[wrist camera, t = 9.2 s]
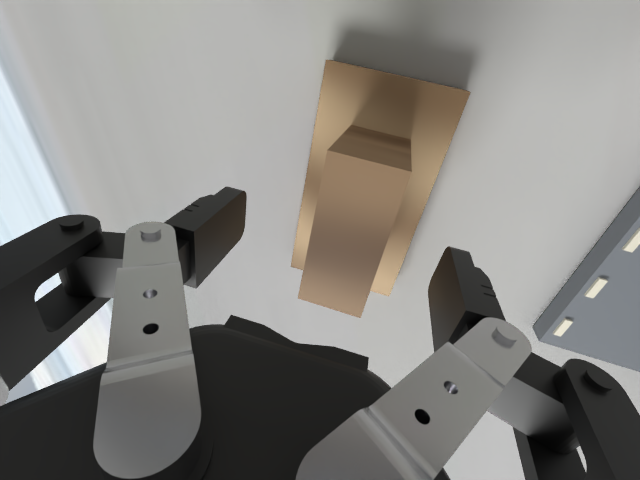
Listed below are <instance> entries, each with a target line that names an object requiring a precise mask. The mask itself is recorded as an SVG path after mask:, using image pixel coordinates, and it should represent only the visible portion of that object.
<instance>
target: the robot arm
mask: <svg viewBox="0 0 640 480" xmlns="http://www.w3.org/2000/svg"><path fill="white" fill-rule="evenodd" d="M245 215H246V192H245V191H242V190H238V189H234V188H231V187H225V188H223V189H222V190H221V191H219V192H218V193H216V194H215V195H208V196H205V197H202V198H199V199H198V200H196V201H195V202H193V203H192V204H191V205H189V206H187V207H186V208H185V209H184V210H182V211H180V212H179V213H177V214H176V215H174V216H173V217H171V218H170V219H169V220H167V221H166V222H164V223H162V222H144V223H140V224H137V225H134V226H132V227H131V228H129V229H128V230H127V231H126V233H114V232H102V229H101V225H100V221H99V220H98V219H97V218H95V217H93V216H89V215H68V216H63V217H59V218H56V219H53V220H51V221H49V222H47V223H45V224H43V225H41V226H39V227H37V228H35V229H33V230H31V231H30V232H28V233H26V234H24V235H22V236H20V237H18V238H16V239H14V240H12V241H10V242H8V243H6V244H4V245H2V246H0V480H450V478H449V476H448V475H447V473H446V472H445V470H444V468H443V466H444V465H445V464H446V463H447V461H448V460H449V459H450V457H451V456H452V455H453V454H454V452H455V451H456V450H457V448H458V447H459V446H460V445H461V443H462V442H463V441H464V439H465V438H466V437H467V436H468V434H469V433H470V432H471V430H472V429H473V428H474V427H475V425H476V424H477V423H478V421H479V420H480V419H481V417H482V416H483V415H484V414H485V412H486V411H488V412H490V413H491V414H493V415H495V416H496V417H498V418H499V419H501V420H503V421H504V422H506V423H508V424H509V425H511V426H513V430H514V434H515V438H516V442H517V447H518V451H519V455H520V459H521V463H522V467H523V472H524V476H525V480H640V415H639V413H638V412H637V410H636V408H635V407H634V405H633V403H632V402H631V400H630V398H629V397H628V395H627V393H626V392H625V390H624V389H623V388H622V386H621V385H620V384H619V383H618V382H617V381H616V380H615V379H614V378H613V377H612V376H610V375H609V374H608V373H607V372H605V371H604V370H602V369H601V368H599V367H597V366H596V365H594V364H592V363H589V362H587V361H584V360H581V359H569V360H568V361H567V362H566V363H565V364H564V365H563V366H562V367H559V366H557V365H555V364H553V363H551V362H550V361H548V360H546V359H544V358H542V357H540V356H538V355H536V354H534V353H532V352H531V351H532V347H531V344H530V342H529V340H528V339H527V337H526V336H525V335H524V334H523V333H522V332H521V331H520V330H519V329H517V328H516V327H515V326H513V325H512V324H510V323H508V322H506V320H505V318H504V315H503V313H502V310H501V307H500V305H499V302H498V300H497V298H496V295H495V292H494V290H492V289H493V287H492V284H491V282H490V279H489V278H488V277H487V275H486V274H485V273H484V272H483V271H482V270H481V269H480V268H477V267H474V264H473V261H472V258H471V255H470V253H469V252H467V251H464V250H460V249H456V248H453V247H447V248H446V249H445V251H444V253H443V255H442V257H441V259H440V261H439V263H438V266H437V268H436V270H435V272H434V274H433V276H432V278H431V281H430V284H429V289H428V298H429V307H430V317H431V326H432V335H433V345H434V353H433V354H432V355H431V356H430V357H429V358H427V359H426V360H425V361H424V362H423V363H421V364H420V365H419V366H418V367H417V368H415V369H414V370H413V371H412V372H411V373H409V374H408V375H407V376H406V377H405V378H403V379H402V380H401V381H400V382H399V383H397V384H396V385H395V386H394V387H393V388H391V387H390V386H389V385H388V384H387V383H386V382H384V381H383V380H382V379H381V378H380V377H378V376H377V375H376V374H374V373H373V372H371V371H369V370H368V369H367V368H368V359H369V357H365V356H362V355H359V354H356V353H352V352H349V351H346V350H343V349H340V348H336V347H332V346H321V345H310V344H299V343H295V342H293V341H291V340H289V339H287V338H286V337H284V336H282V335H280V334H279V333H277V332H275V331H273V330H272V329H270V328H268V327H266V326H265V325H262V324H259V323H256V322H253V321H249V320H246V319H243V318H240V317H236V316H233V315H231V316H230V317H229V319H228V320H227V322H226V323H225V325H221V324H215V325H203V326H198V327H194V328H190V329H189V324H188V316H187V309H186V301H185V294H184V287H183V285H187V286H190V287H193V288H197V287H198V286H199V285H200V284H201V283H202V282H203V280H204V279H205V278H206V277H207V276H208V275H209V274H210V273H211V272H212V270H213V269H214V268H215V267H216V266H217V265H218V264H219V263H220V261H221V260H222V259H223V258H224V257H225V256H226V255H227V254H228V252H229V251H230V250H231V249H232V248H233V247H234V246H235V245H236V244H237V242H238V241H239V240H240V239H241V237H242V235H243V232H244V228H245ZM56 273H59V276H60V279H61V282H62V283H61V284H60V285H58V286H57V287H56V288H54V289H53V290H52V291H50V292H49V293H47V294H46V295H45V296H43V297H42V298H40V299H39V300H38V301H36V302H35V300H34V296H35V292H36V290H37V289H38V287H39V286H40V285H41V284H42V283H43V282H45V281H46V280H48V279H49V278H51V277H52V276H54V275H55V274H56ZM111 298H114V300H113V310H112V319H111V329H110V338H109V348H108V357H107V362H106V363H104V364H101V365H99V366H96V367H94V368H92V369H89V370H87V371H84V372H82V373H79V374H77V375H75V376H72V377H70V378H67V379H65V380H62V381H60V382H58V383H55V384H53V385H50V386H48V387H46V388H43V389H41V390H38V391H36V392H33V393H31V394H29V395H26V396H24V397H21V398H19V399H17V400H14V401H12V402H9V403H7V404H5V402H6V400H7V398H8V394H9V391H10V390H11V389H12V388H13V387H14V386H15V385H16V384H17V383H19V382H20V381H21V380H22V379H23V378H24V377H25V376H26V375H27V374H28V373H29V372H31V371H32V370H33V369H34V368H35V367H36V366H37V365H38V364H39V363H40V362H42V361H43V360H44V359H45V358H46V357H47V356H48V355H49V354H50V353H51V352H53V351H54V350H55V349H56V348H57V347H58V346H59V345H60V344H61V343H62V342H64V341H65V340H66V339H67V338H68V337H69V336H70V335H71V334H72V333H73V332H75V331H76V330H77V329H78V328H79V327H80V326H81V325H82V324H83V323H84V322H85V321H87V320H88V319H89V318H90V317H91V316H92V315H93V314H94V313H95V312H96V311H98V310H99V309H100V308H101V307H102V306H103V305H104V304H105V303H106V302H107V301H109V300H110V299H111ZM578 446H581V449H582V451H583V454H584V456H585V459H586V464H587V472H585V469H584V467H583V464H582V462H581V459H580V457H579V454H578V451H577V449H576V448H577V447H578Z"/></svg>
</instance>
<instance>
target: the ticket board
mask: <svg viewBox="0 0 640 480" xmlns="http://www.w3.org/2000/svg"><path fill="white" fill-rule="evenodd" d="M533 329H534V332H535V334H536V336H537V338H538V340H539V341H540V342H543V343H547V344H550V345H553V346H556V347H560V348H563V349H566V350H570V351H573V352H576V353H579V354H583V355H586V356H589V357H592V358H596V359H599V360H602V361H606V362H609V363H612V364H615V365H619V366H622V367H625V368H629V369H632V370H635V371H638V372H640V187H639V189H638V190H637V191H636V193H635V194H634V195H633V196H632V198H631V199H630V200H629V202H628V203H627V204H626V206H625V207H624V208H623V210H622V211H621V212H620V213H619V215H618V216H617V217H616V219H615V220H614V221H613V223H612V224H611V225H610V226H609V228H608V229H607V230H606V232H605V233H604V234H603V236H602V237H601V238H600V240H599V241H598V242H597V243H596V245H595V246H594V247H593V249H592V250H591V251H590V253H589V254H588V255H587V257H586V258H585V259H584V260H583V262H582V263H581V264H580V266H579V267H578V268H577V270H576V271H575V272H574V273H573V275H572V276H571V277H570V279H569V280H568V281H567V283H566V284H565V285H564V287H563V288H562V289H561V290H560V292H559V293H558V294H557V296H556V297H555V298H554V300H553V301H552V302H551V304H550V305H549V306H548V307H547V309H546V310H545V311H544V313H543V314H542V315H541V317H540V318H539V319H538V320H537V322H536V323H535V324H534V326H533Z"/></svg>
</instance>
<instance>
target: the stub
mask: <svg viewBox="0 0 640 480" xmlns="http://www.w3.org/2000/svg"><path fill="white" fill-rule="evenodd" d="M469 95H470V92H469V91H467V90H463V89H458V88H454V87H449V86H445V85H440V84H436V83H432V82H427V81H423V80H418V79H414V78H409V77H405V76H400V75H396V74H391V73H387V72H382V71H378V70H374V69H369V68H365V67H360V66H356V65H351V64H347V63H342V62H338V61H333V60H326V63H325V69H324V75H323V81H322V87H321V92H320V98H319V104H318V110H317V116H316V122H315V127H314V133H313V139H312V145H311V151H310V157H309V163H308V168H307V174H306V180H305V186H304V192H303V198H302V203H301V209H300V215H299V221H298V227H297V233H296V239H295V244H294V250H293V256H292V262H291V267H294V268H297V269H301V270H303V275H302V280H301V285H300V290H299V295H298V298H299V299H302V300H305V301H308V302H311V303H314V304H318V305H321V306H324V307H327V308H330V309H333V310H337V311H340V312H343V313H346V314H349V315H352V316H356V317H359V318H361V315H362V312H363V309H364V306H365V303H366V301H367V298H368V295H369V292H370V291H373V292H376V293H379V294H383V295H386V296H389V295H390V293H391V290H392V288H393V285H394V283H395V280H396V278H397V275H398V273H399V270H400V268H401V265H402V263H403V260H404V258H405V255H406V253H407V250H408V248H409V245H410V243H411V240H412V238H413V235H414V233H415V230H416V228H417V225H418V223H419V220H420V218H421V215H422V213H423V210H424V208H425V205H426V203H427V200H428V198H429V195H430V193H431V190H432V188H433V185H434V183H435V180H436V178H437V175H438V173H439V170H440V168H441V165H442V163H443V160H444V158H445V155H446V153H447V150H448V148H449V145H450V142H451V140H452V137H453V135H454V132H455V130H456V127H457V125H458V122H459V120H460V117H461V115H462V112H463V110H464V107H465V105H466V102H467V100H468V97H469Z"/></svg>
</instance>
